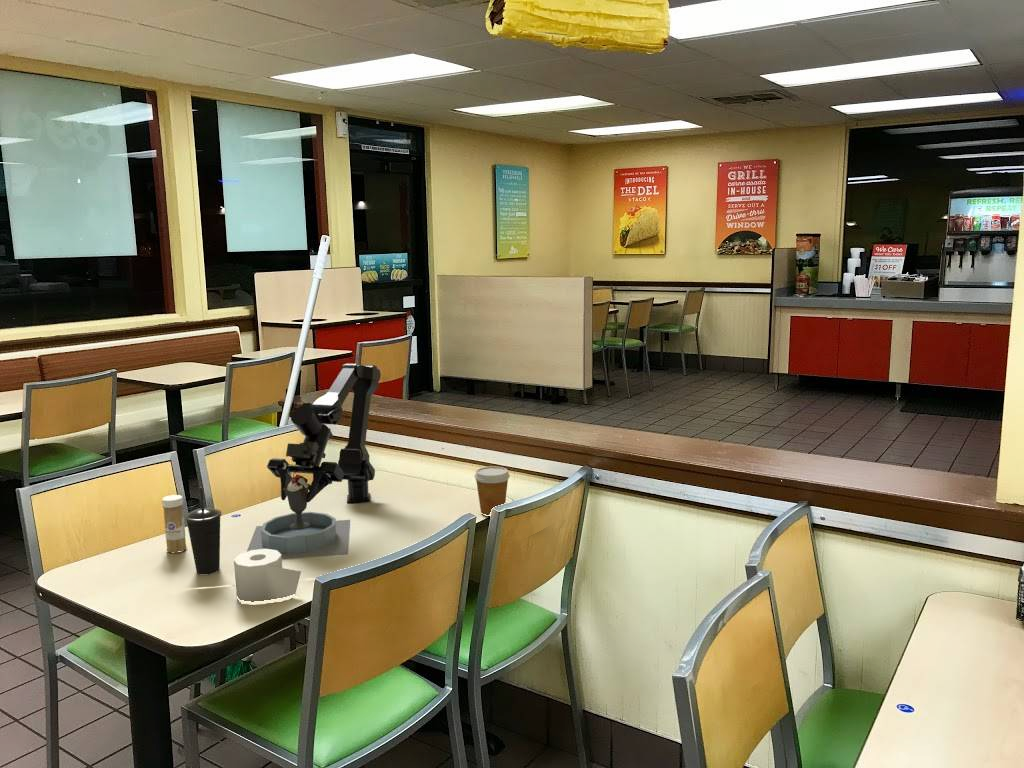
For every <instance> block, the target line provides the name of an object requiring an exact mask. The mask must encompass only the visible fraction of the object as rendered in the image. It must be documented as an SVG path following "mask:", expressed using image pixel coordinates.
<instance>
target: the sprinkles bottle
mask: <svg viewBox="0 0 1024 768" xmlns="http://www.w3.org/2000/svg"><path fill="white" fill-rule="evenodd" d="M161 499H162V500H161V504H162V508H163V518H164V532H165V534H164V535H165V539H166V552H167V551H168V552H167V553H169V552H178V551H182V550H185V549H186V548H187V541H186V527H185V515H184V507H183V506H184V499H183V496H182V495H180V494H171V495H167V496H164V497H162V498H161ZM187 549H188V548H187ZM187 549H186V550H187ZM186 550H185V551H186ZM182 552H183V551H182Z"/></svg>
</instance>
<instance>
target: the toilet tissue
mask: <svg viewBox="0 0 1024 768" xmlns="http://www.w3.org/2000/svg"><path fill="white" fill-rule="evenodd" d="M233 566H234V567H233V569H234V578H235V580H234V581H235V591H236V597H237V596H238V598H239V599H240V600H244V601H251V602H254V601H264V600H271V599H277V598H283V597H287V596H290V595H293V594H295V595H296V594H297V590H298V586H299V582H300V581H299V580H300V578H301V573H302V571H301V570H295V569H290V568H285V567H283V559H282V555H281V554H280V553H279V552H278V551H277V550H272V549H258V550H250V551H248V552H247V551H245V552H242V553H240V554H238V555H237V556H236V557H235V558H234V559H233Z"/></svg>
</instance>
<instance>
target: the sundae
mask: <svg viewBox="0 0 1024 768" xmlns="http://www.w3.org/2000/svg"><path fill="white" fill-rule="evenodd" d="M294 472H295V470H294V471H293V472H292V480H291V481H290V483H289V485H287V486H286V487H284V488H283V490H285V491H286V493H287V497H286V498H287V501H288V505H289V509H290V510H291V511H292V512H293V513H296V515H297V519H296V522H295V523H293V524H291V525H290V526H289V528H291V529H293V530H300V529H305V528H307V527H309V526H310V524H309V523H307V522H303V521H302V518H301V513H302V512H305V510H306V509H307V506H308V502H307V501H306V499H307V495H308V492H309V489H310V486H311V483H308V480H309V479H307V478H306V477H304V476H303V475H300V474H298V473H294Z"/></svg>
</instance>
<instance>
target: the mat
mask: <svg viewBox="0 0 1024 768" xmlns="http://www.w3.org/2000/svg"><path fill="white" fill-rule="evenodd" d="M262 526H263V525H256V527H255V528H254V532H253V535H252V536H251V539H250V542H249V544H248V547H247V550H246V552H248V551H250V550H258V549H266V548H264V547H263V546H262V537H261V529H262ZM350 526H351V519H341V520H340V519H339V520H336V540H335V541H334V542H332V543H331V544H329V545H328V546H326V547H324V548H320V549H317V550H313V551H310V552H304V553H291V554H285V553H280V554H281V555H282V560H292V559H293V560H294V559H306V558H307V559H308V558H319V557H330V556H331V557H333V556H343V555H345V556H346V555H349V546H350V543H349V542H350V529H351V527H350Z"/></svg>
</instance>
